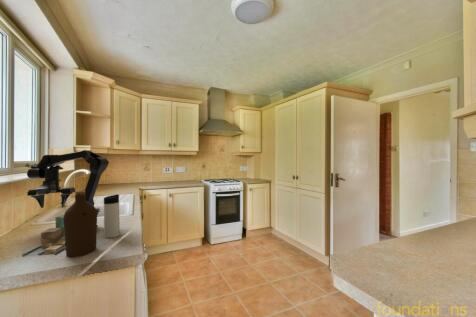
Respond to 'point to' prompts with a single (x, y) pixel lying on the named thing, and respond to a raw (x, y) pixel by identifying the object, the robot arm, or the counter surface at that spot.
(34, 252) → the lane tray
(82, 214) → the olive oil
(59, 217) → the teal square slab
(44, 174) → the robot arm
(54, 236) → the cube
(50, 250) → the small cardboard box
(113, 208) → the travel mug
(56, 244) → the tan square block
